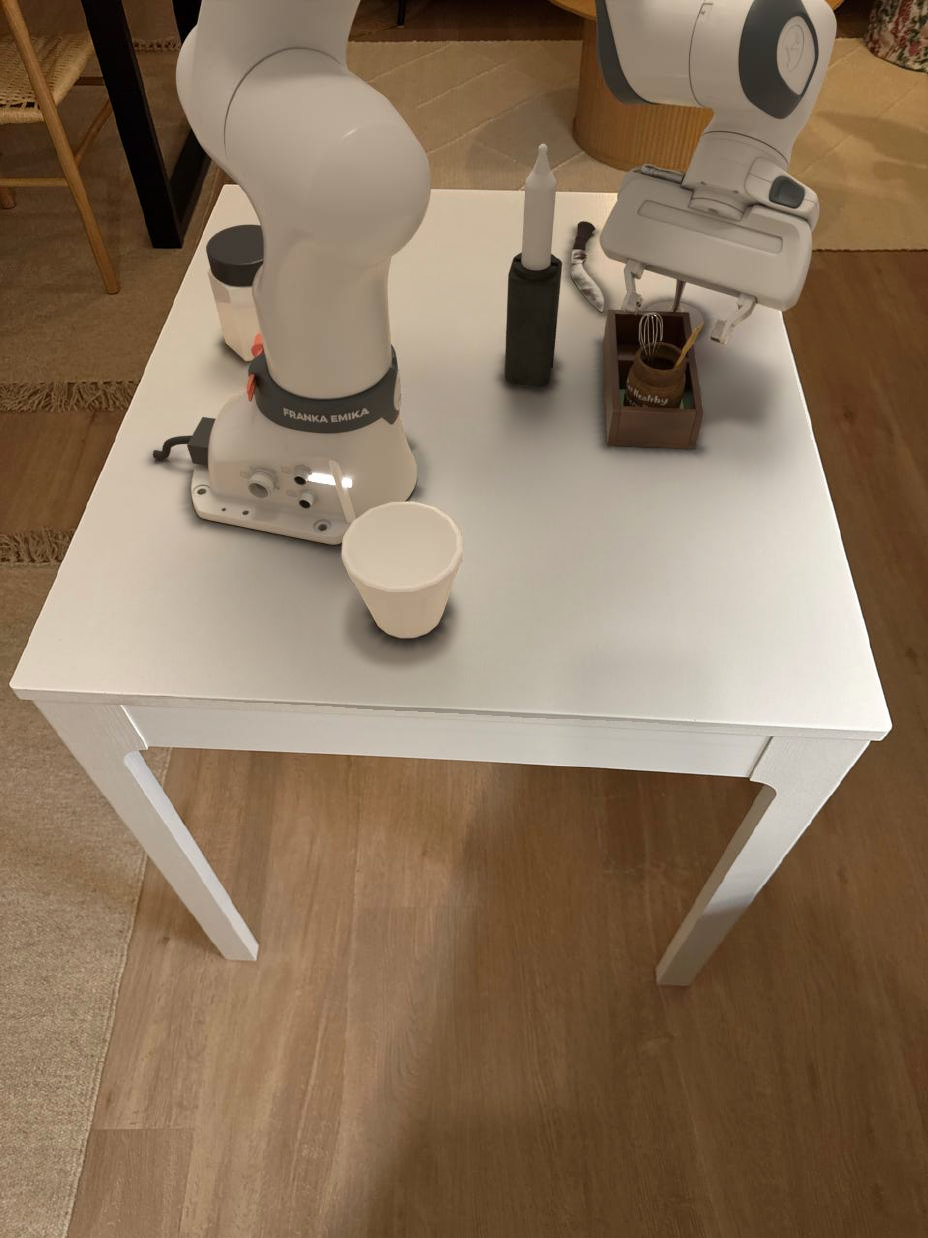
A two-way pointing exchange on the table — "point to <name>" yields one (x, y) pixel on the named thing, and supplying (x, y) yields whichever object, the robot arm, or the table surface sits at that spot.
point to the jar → (236, 283)
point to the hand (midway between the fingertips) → (672, 326)
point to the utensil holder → (658, 373)
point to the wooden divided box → (618, 359)
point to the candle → (534, 285)
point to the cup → (403, 565)
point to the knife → (578, 272)
